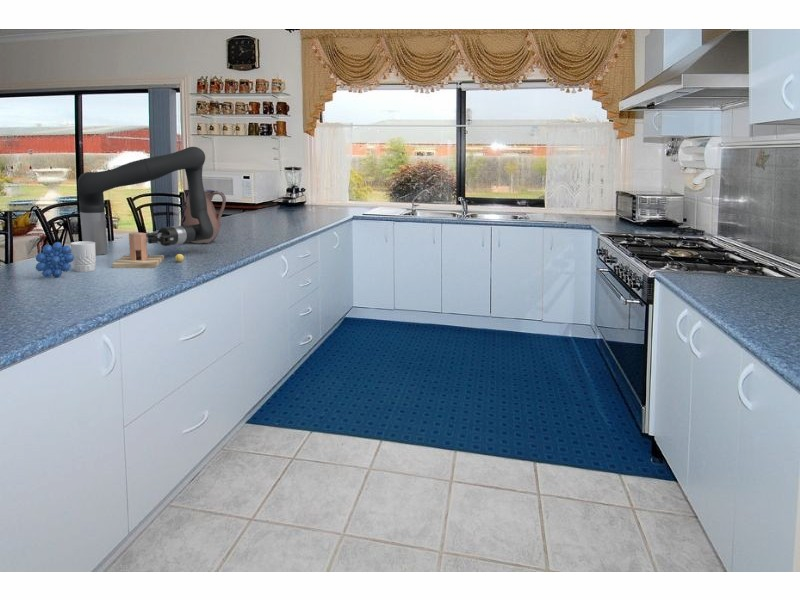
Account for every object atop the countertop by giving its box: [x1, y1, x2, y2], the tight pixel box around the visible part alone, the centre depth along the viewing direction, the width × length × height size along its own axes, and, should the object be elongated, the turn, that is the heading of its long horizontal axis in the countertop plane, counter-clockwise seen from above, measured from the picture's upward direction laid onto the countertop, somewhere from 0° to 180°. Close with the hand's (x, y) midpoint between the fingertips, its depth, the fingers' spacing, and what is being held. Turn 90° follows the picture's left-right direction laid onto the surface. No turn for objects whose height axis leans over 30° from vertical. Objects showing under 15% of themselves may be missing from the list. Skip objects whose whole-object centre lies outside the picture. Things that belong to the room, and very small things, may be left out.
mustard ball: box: [174, 253, 185, 263], centre depth 248 cm, size 3×3×3 cm
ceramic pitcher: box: [180, 189, 227, 244], centre depth 299 cm, size 18×21×25 cm
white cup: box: [70, 241, 97, 273], centre depth 224 cm, size 8×8×10 cm
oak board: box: [111, 254, 165, 269], centre depth 243 cm, size 20×15×2 cm
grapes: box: [35, 241, 74, 278], centre depth 211 cm, size 12×7×12 cm, turn 125°
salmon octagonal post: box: [128, 232, 148, 261], centre depth 241 cm, size 6×6×10 cm
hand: (140, 239), depth 242 cm, fingers open, 8 cm apart
